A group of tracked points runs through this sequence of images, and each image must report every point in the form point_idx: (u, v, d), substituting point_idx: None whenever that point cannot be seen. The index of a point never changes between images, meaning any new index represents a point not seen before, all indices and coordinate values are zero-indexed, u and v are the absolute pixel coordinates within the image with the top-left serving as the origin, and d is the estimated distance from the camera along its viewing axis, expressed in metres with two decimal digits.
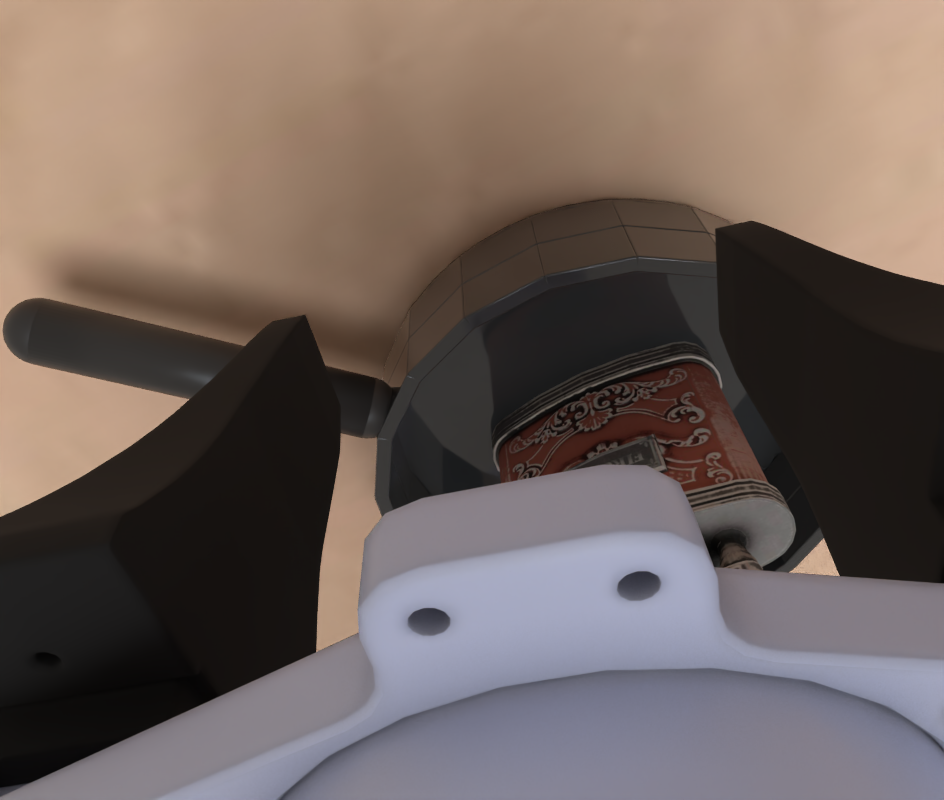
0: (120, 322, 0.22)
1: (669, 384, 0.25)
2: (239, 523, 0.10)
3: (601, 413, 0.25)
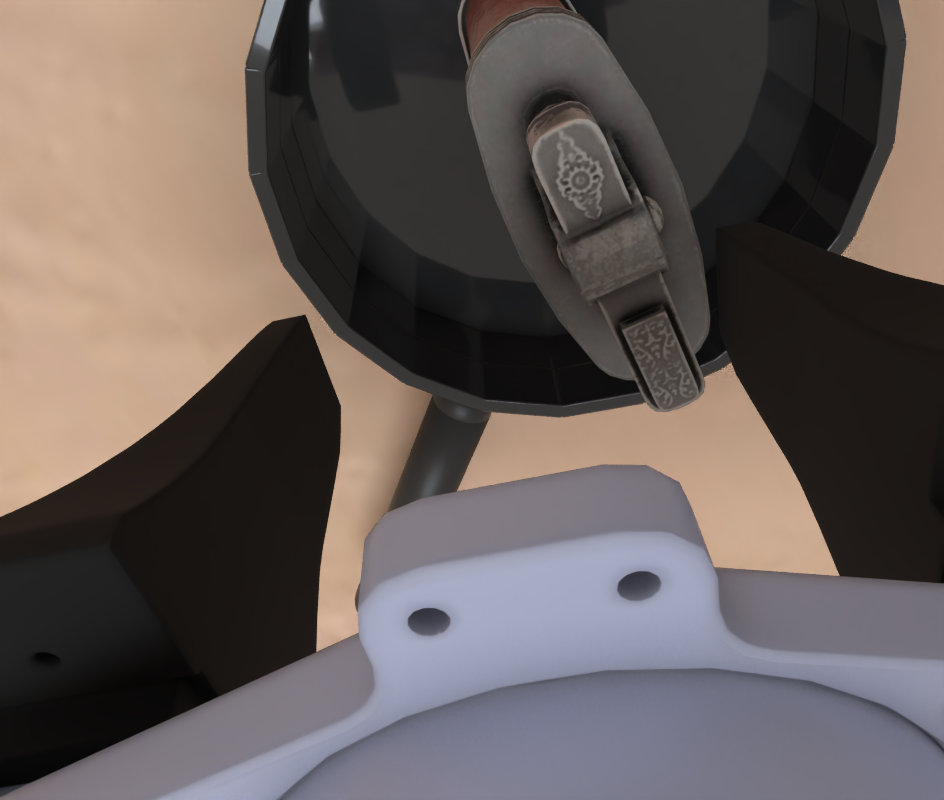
0: None
1: None
2: (240, 523, 0.10)
3: None
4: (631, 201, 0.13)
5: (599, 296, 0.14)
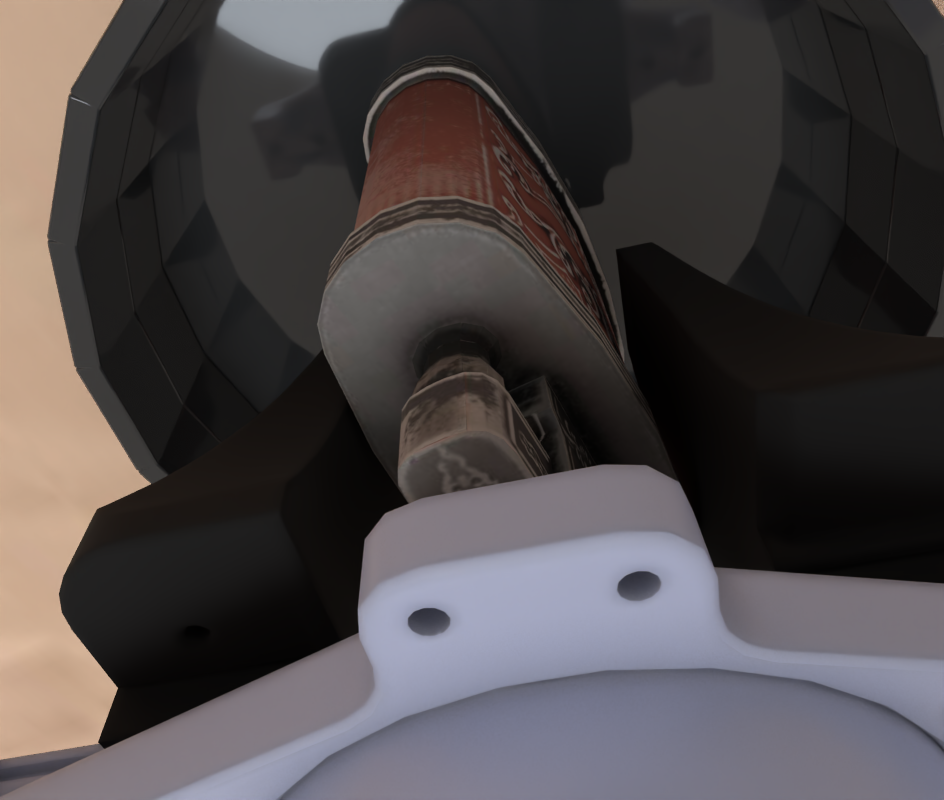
0: None
1: None
2: (362, 501, 0.10)
3: None
4: None
5: None
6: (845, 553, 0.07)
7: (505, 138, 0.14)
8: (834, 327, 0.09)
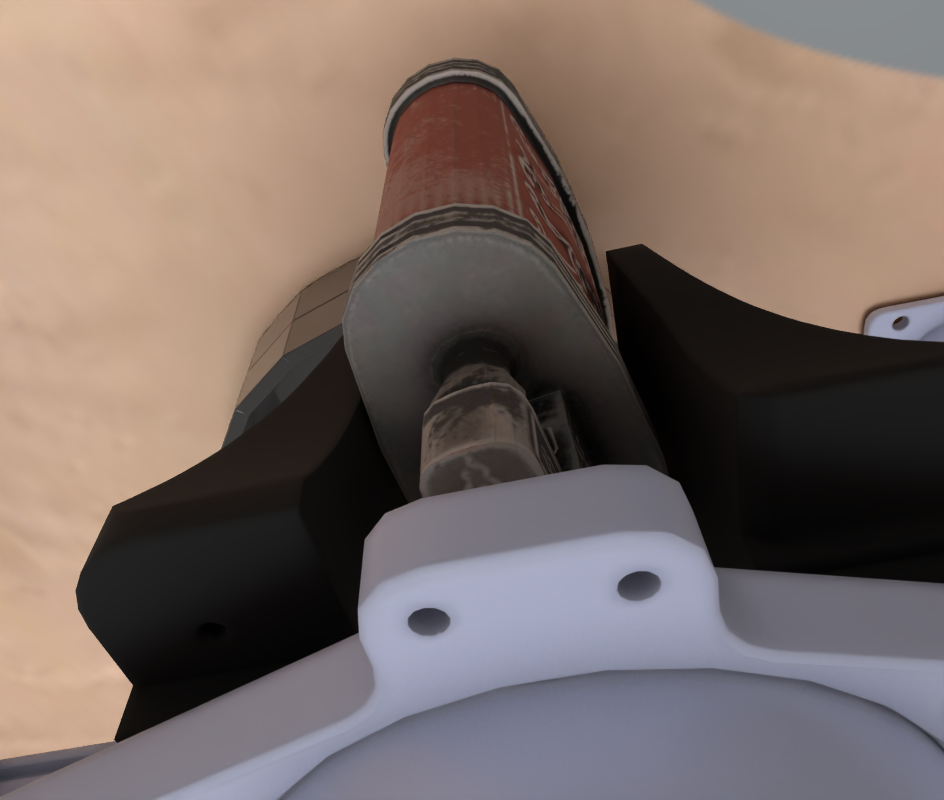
0: None
1: None
2: (375, 498, 0.10)
3: None
4: None
5: None
6: (827, 556, 0.07)
7: (526, 148, 0.14)
8: (819, 330, 0.09)
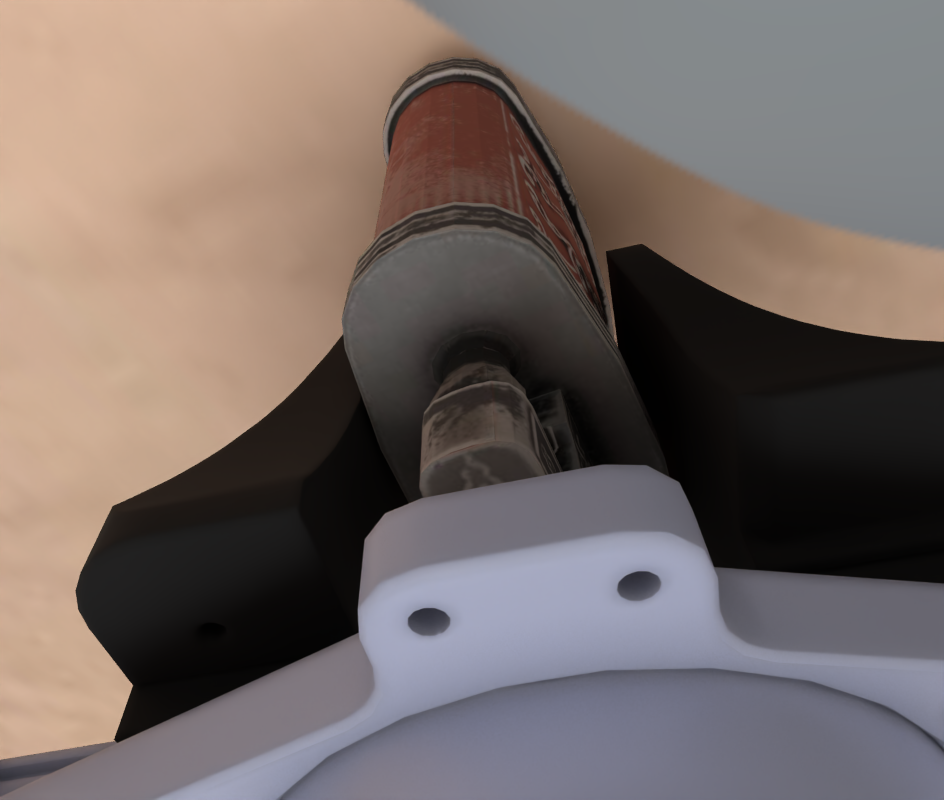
0: None
1: None
2: (376, 498, 0.10)
3: None
4: None
5: None
6: (827, 556, 0.07)
7: (527, 147, 0.14)
8: (818, 330, 0.09)
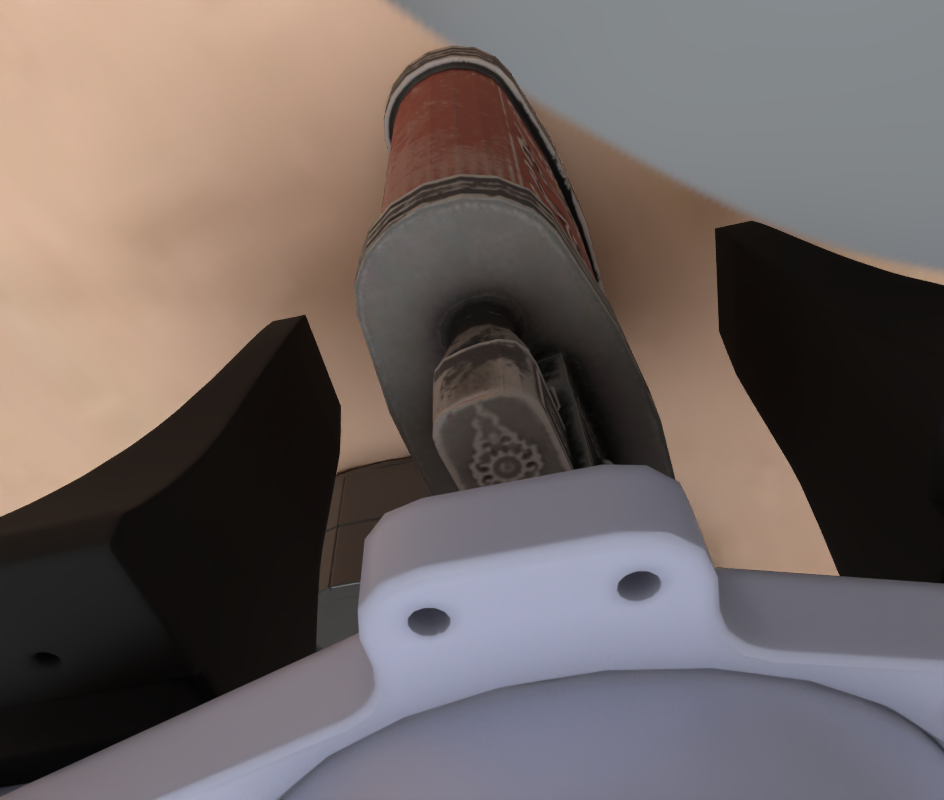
0: None
1: None
2: (240, 523, 0.10)
3: None
4: None
5: None
6: None
7: (524, 131, 0.14)
8: None
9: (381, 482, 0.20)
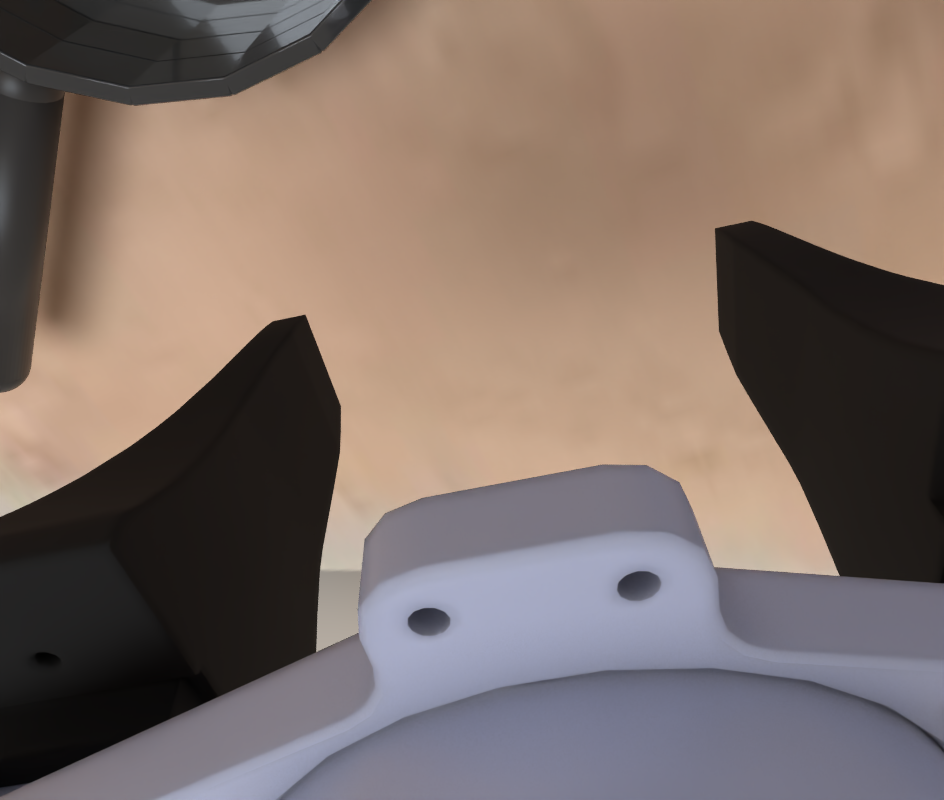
0: None
1: None
2: (239, 523, 0.10)
3: None
4: None
5: None
6: None
7: None
8: None
9: None
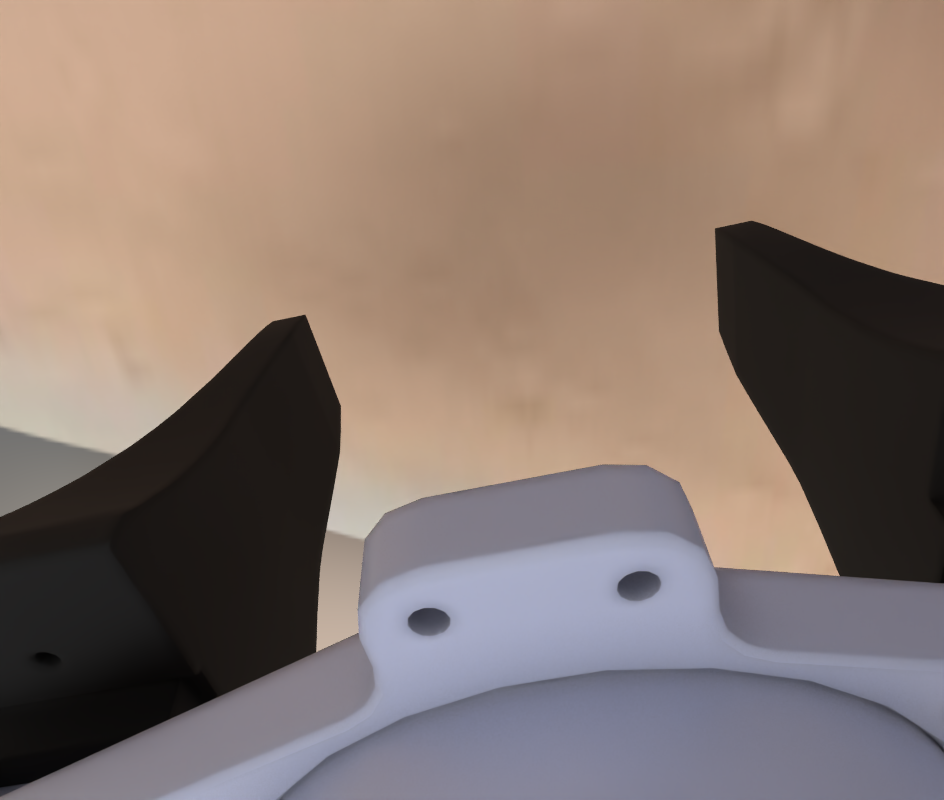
0: None
1: None
2: (239, 524, 0.10)
3: None
4: None
5: None
6: None
7: None
8: None
9: None
